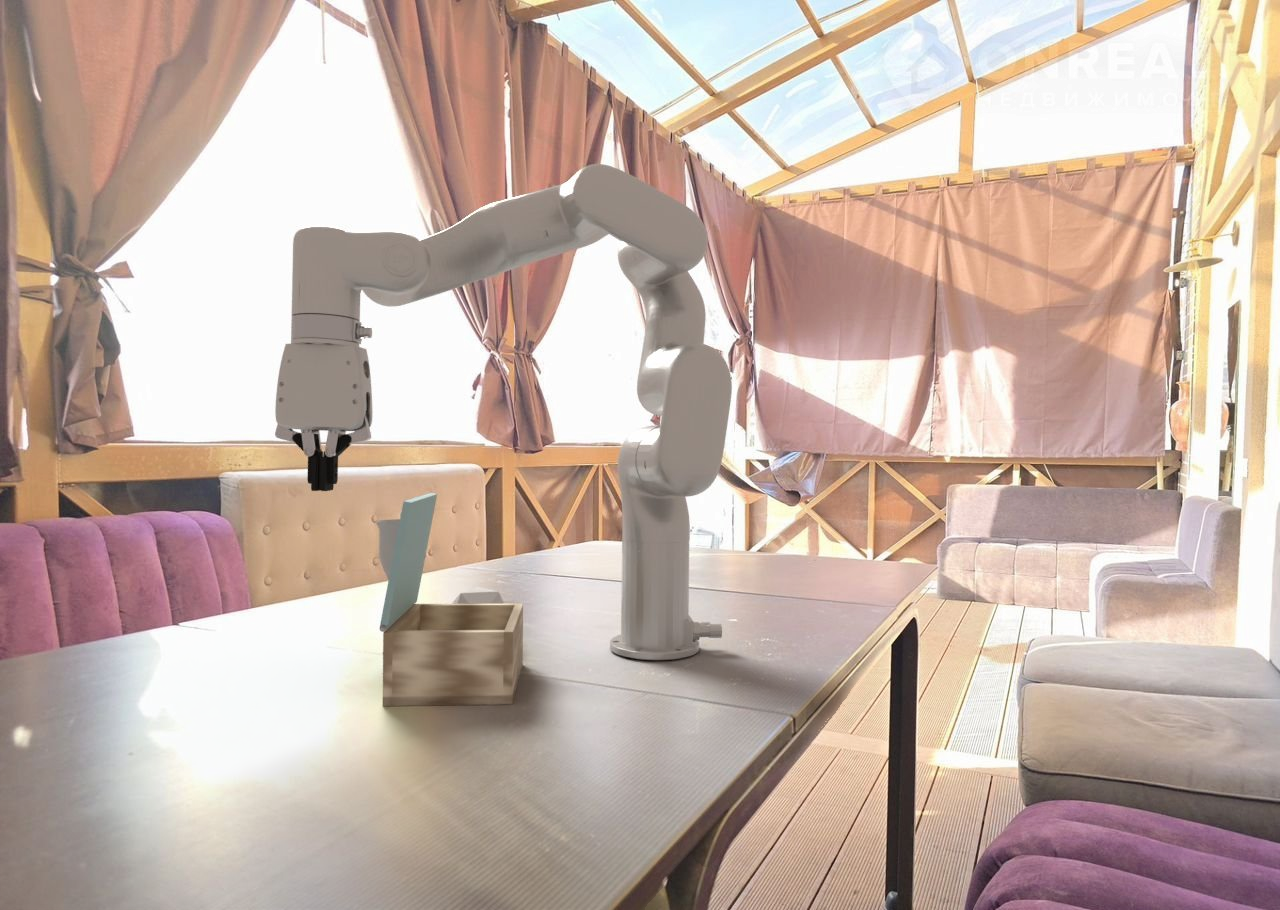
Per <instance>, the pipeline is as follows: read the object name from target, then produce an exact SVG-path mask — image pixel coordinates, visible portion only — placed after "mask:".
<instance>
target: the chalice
mask: <svg viewBox="0 0 1280 910" xmlns="http://www.w3.org/2000/svg"><path fill="white" fill-rule="evenodd" d="M399 523H400V518H399V519H398V518H396V519H381V520H376V521H375V524H376V526H377V528H378V529H379V530H378V531H379V532H378V533H379V535H378V538H379V539H378V541H379V542H378V543H379V544H378V552H379V553H378V554H379V555H378V558H379V561H380V563H381V567H382V569H383V571H384V574H385V575H386V577H387V579H388V581H389V576H390V570H391V565H392V560H393V554H394V549H395V544H396V539H397V533H398V528H399ZM426 558H427V555H426V556H425V559H426Z"/></svg>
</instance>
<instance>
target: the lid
mask: <svg viewBox="0 0 1280 910" xmlns="http://www.w3.org/2000/svg"><path fill="white" fill-rule="evenodd" d="M437 496H438V494H437V493H433V492H430V493H427V494H424V495H420V496H419V495H418V496H416V497H413V498H409V499H406V500H403V503H402V507H401V512H400V518H399V519H400V523H399V528H398V533H397V539H396V544H395V549H394V554H393V560H392V565H391V570H390V576H389V580H388V581H387V588H386V593H385V596H384V597H385V598H384V602H383V607H382V613H381V619H380V625H379V631H380V632H382V633H384V632H385V631H386V630H387V629H388V628H389V627H390V626H392V625H393V624H394V623H395V622H396V621H397V620H398V619H399V618H400V617H401V616H402V615H403V614H404V613H405V612H406V611H407V610H408V609H410V608H411V607H412V606H413V605H414V604H417V602H418V597H419V592H420V588H421V583H422V576H423V572H424V566H425V560H426V558H425V556H426V557H427V551H428V545H429V539H430V534H431V528H432V523H433V519H434V518H433V517H434V513H435V507H436V502H437V498H438V497H437Z"/></svg>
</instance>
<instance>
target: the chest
mask: <svg viewBox="0 0 1280 910" xmlns="http://www.w3.org/2000/svg"><path fill="white" fill-rule="evenodd" d="M382 633H383V634H382V636H383V637H382V638H383V639H382V640H383V641H382V707H395V706H396V707H399V706H400V707H404V706H405V707H408V706H409V707H410V706H411V707H412V706H470V705H471V706H475V705H476V706H480V705H481V706H483V705H484V706H487V705H495V706H496V705H513V702H514V700H515V695H516V690H517V687H518V683H519V679H520V675H521V672H522V667H523V662H524V661H523V656H524V655H523V654H524V653H523V651H524V650H523V648H524V646H523V645H524V644H523V643H524V641H523V639H524V603H521V602H520V603H504V604H452V603H415V604H414V605H413V606H412V607H411V608H410V609H408V610H407V611H406V612H405V613H404V614H403V615H402V616H401V617H400V618H399V619H398V620H397V621H396V622H395V623H394V624H393V625H392V626H390V627H389V628H388V629H387V630H386V631H385V632H382Z"/></svg>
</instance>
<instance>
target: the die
mask: <svg viewBox="0 0 1280 910" xmlns="http://www.w3.org/2000/svg"><path fill="white" fill-rule="evenodd" d="M451 604H505V601H504V599H503V598H502V596H501V593H500V592H499V591H497V590H494V589H490V588H484V587H479V586H475V587H473V588H470V589H468V590H465V591H462V592H460V593H459V594H458V596H456V598H455V599H454V600H453V602H452V603H451Z"/></svg>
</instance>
